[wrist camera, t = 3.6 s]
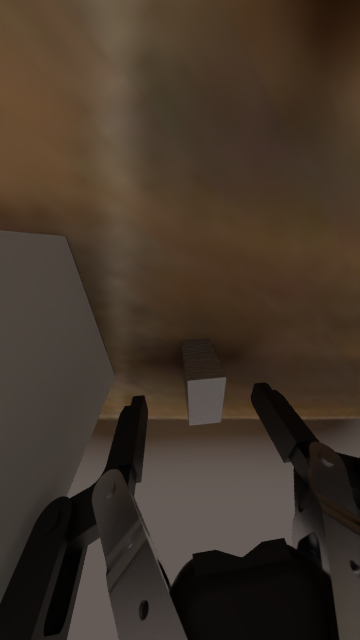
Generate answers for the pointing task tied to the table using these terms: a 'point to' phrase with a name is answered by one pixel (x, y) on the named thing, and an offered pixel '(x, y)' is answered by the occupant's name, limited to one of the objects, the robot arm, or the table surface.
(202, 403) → the light gray block
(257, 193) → the table surface
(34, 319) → the white slotted box
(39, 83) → the table surface
